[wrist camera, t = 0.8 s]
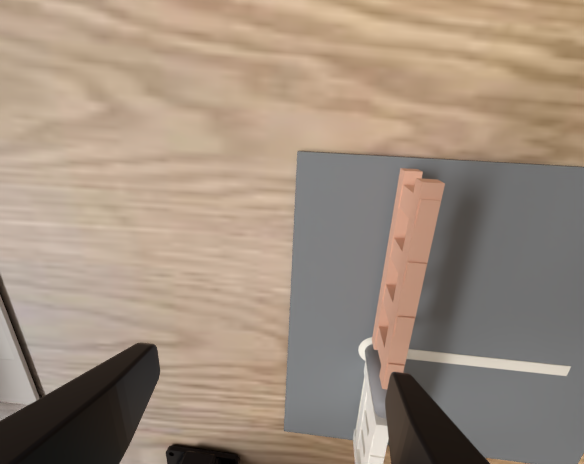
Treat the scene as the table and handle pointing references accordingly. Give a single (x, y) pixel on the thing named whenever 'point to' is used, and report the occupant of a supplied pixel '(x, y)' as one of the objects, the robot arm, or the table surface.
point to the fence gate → (402, 278)
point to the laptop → (13, 366)
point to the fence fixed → (369, 430)
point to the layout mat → (445, 300)
